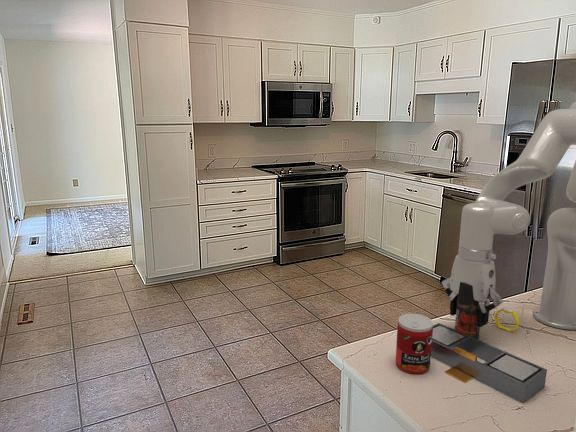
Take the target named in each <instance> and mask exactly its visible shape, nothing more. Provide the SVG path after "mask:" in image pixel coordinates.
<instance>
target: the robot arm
mask: <svg viewBox="0 0 576 432" xmlns="http://www.w3.org/2000/svg"><path fill="white" fill-rule="evenodd" d="M571 146H576V101H574V102H573V103H572V104H571V105H570V106H569V108H559V109H554V110H551V111H550V112H548V113H547V114H545V116H544V117H543V118H542V119H541V121H540V123H539V125H538V126H537V128H536V129H535V131H534V132H533V134H532V136H531V137H530V139H529V140H528V142H527V143H526V146H525V147H524V149H523V150H522V151H521V154H520V155H519V157H518V158H517V159H516V160H515V161H514V162H512V163H510V164H509V165H507V166H506V167H504V168H503V169H502V170H501V171H499V172H498V173H495V175H494V176H492V177H491V178H490V179H489V180H488V181H487V182H486V183H485V185H484V187H482V189H481V191H480V192H479V194H478V195H477V198H476V200H475V201H474V202H472V203H467V204H465V205H464V206H463V207H462V210H461V220H460V229H459V241H458V242H459V243H458V253H457V255H456V254H455V255H456V256H455V258H454V261H453V265H452V267H451V272H450V273H451V274H450V276H449V277H448V278H446V279H443V280H442V281H441V284H442V287H443V288H444V289H445V292H446V294H447V296H448V300H449V302H450V304H449V311H450V313H449V315H450V316H451V317H453V316H456V310H457V299H458V292H459V286H460V282H462V283H465V284H468V285H471V286H473V296H474V300H476V301H478V302H479V305H480V308H481V311H480V312H479V317H478V326H479V327H480V328H482V327H484V326H485V325H487V324H488V323H489V319H490V318H489V317H490V311H492V310H494V309H495V308H498V306H500V305H502V304H503V302H504V300H503V298H502V297H501V296H500V295H499V293H498V292H497V291H496V266H495V261H494V260H496V259H497V254H496V253H493V243H494V242H493V241H494V235H496V234H497V235H507V236H508V235H509V236H510V235H511V236H512V235H518V234H520V233H523V232H524V231H525V230H527V228H528V227H529V225H530V222H531V215H530V213H529V211H528V210H527V209H526V208H525V207H524V206H521V205H519V204H517V203H512V202H508V201H506V200H505V199H506V198H507V196H508V195H509V194H511V193H512V192H513V191H514V190H516V189H517V188H520V187H523V186H525V185H528V184H531V183H534V182H537V181H538V182H539V181H541V180H545V179H547V178H550V177H551V176H553V174H554V172H555V170H557V167H558V166H559V164H560V162H561V161H562V159H563V158H564V157H565V154H566V153H567V151H568V150H569V148H570V147H571ZM565 194H566V198H567V199H568V200H569V201H571V202H573V203H576V160H575V161H574V164H573V166H572V170H571V173H570V176H569V179H568V181H567V186H566V189H565ZM546 233H547V244H548V245H547V257H546V264H545V269H544V270H545V271H544V276H543V277H544V278H543V286H542V291H541V292H542V293H541V301H540V306H538V307H535V308H534V309H533V312H532V317H534V319H536V320H537V321H538V322H539V323H541V324H543V325H546V326H549V327H552V328H556V329H561V330H569V331H570V330H571V331H576V208H574V207H562V208H558V209H556V210H554V211H553V212H552V213H551V214H550V215H549V218H548V219H547V223H546ZM490 299H492V300H493V301H492V302H490Z"/></svg>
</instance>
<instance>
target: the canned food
mask: <svg viewBox="0 0 576 432" xmlns="http://www.w3.org/2000/svg"><path fill="white" fill-rule="evenodd" d="M397 319H398V320H397V328H396V329H397V330H396V347H395V348H396V349H395V362H396V365H397V367H398V369H400V370H401V371H403V372H405V373H408V374H413V375H421V374H424V373H426V372H427V371H429V369H430V366H431V358H432V357H431V347H432V335H433V325H434V322H433V321H432V319H431V318H429V317H427V316H425V315H424V314H419V313H405V314H404V313H403V314H402V315H400V316H398V318H397Z"/></svg>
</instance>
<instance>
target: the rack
mask: <svg viewBox="0 0 576 432" xmlns="http://www.w3.org/2000/svg"><path fill="white" fill-rule="evenodd" d="M431 358H433V359H436V360H437V361H440V362H441V363H443V364H446V365H447V366H450V368H449V369H447V370H445V371H444V373H445V374H446V375H449V376H451V377H453V378H455V379H457V380H458V381H460V382H462V383H464V384H466V383H467V382H469V381H471V380H472V379H474V380H477V381H479V382H481V383H482V384H485V385H487V386H489V387H491V388H492V389H495V391H498V392H500V393H502V394H504V395H506V396H508V397H510V398H512V399H514V400H515V401H517V402H520V403H521V404H523V403H525V402H526V401H528V400H529V399H530V398H532V397H534V396H535V394H537V393H538V392H539V391H541V390H543V389H544V388H545V387H546V380H547V373H548V369H547V368H545V367H543V366H539V365H537V364H535V363H533V362H530V361H528V360H526V359H523V358H521V357H519V356H516V355H514V354H512V353H509V352H507V351H505V350H502V349H500V348H498V347H495V346H493V345H491V344H489V343H486V342H484V341H482V340H480V339H478V340H477V339H475V338H473V337H471V336H468V335H466V334H464V333H461V332H459V331H457V330H455V328H452V327H450V326H447V325H445V324H442V323H440V322H438V323H435V324H433V335H432V347H431ZM478 358H479V359H481V360H483V361H485V362H481V361H479V360H478Z"/></svg>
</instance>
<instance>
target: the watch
mask: <svg viewBox="0 0 576 432" xmlns="http://www.w3.org/2000/svg"><path fill="white" fill-rule="evenodd" d="M501 312H503V313H505V314H511V316H513V318H514V321H515V326H514V327H513V328H511V327H508V326H507V327H506V326H504V325H503V324H502V323H501V322H500V320H499V314H500V313H501ZM493 319H494V321H495V324H496V326H497V327H498V328H499V329H502V330H503V331H507V332H513V331H515V330H517V328H519V326H520V318H519V316H518V314H517V313H516V312H515V310H514V308H513V307H509V306H503V307H502V308H500V309H498V310H497V311H495V314H494V318H493Z"/></svg>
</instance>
